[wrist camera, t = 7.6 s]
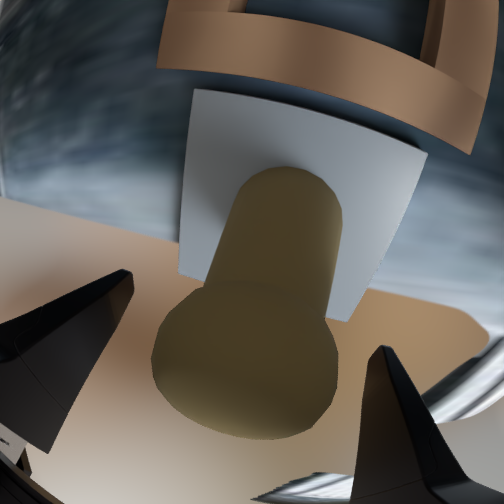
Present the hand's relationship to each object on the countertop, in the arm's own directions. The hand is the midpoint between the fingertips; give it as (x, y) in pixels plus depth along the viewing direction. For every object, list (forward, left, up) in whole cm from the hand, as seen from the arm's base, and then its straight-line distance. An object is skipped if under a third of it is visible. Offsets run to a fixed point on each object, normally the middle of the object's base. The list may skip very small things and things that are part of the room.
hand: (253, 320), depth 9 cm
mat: (0, 0, -8) cm, 8 cm away
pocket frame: (0, -15, -8) cm, 17 cm away
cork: (0, 0, -8) cm, 8 cm away
